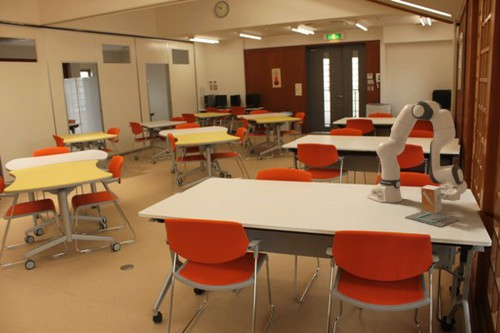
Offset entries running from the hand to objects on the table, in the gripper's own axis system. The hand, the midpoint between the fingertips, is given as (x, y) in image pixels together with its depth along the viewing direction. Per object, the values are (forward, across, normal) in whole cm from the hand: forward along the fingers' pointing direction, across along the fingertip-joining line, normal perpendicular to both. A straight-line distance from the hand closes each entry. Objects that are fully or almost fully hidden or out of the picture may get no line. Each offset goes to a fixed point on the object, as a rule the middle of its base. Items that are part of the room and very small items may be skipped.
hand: (430, 196), depth 242 cm
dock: (-1, 0, +13) cm, 13 cm away
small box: (-1, 0, +8) cm, 8 cm away
